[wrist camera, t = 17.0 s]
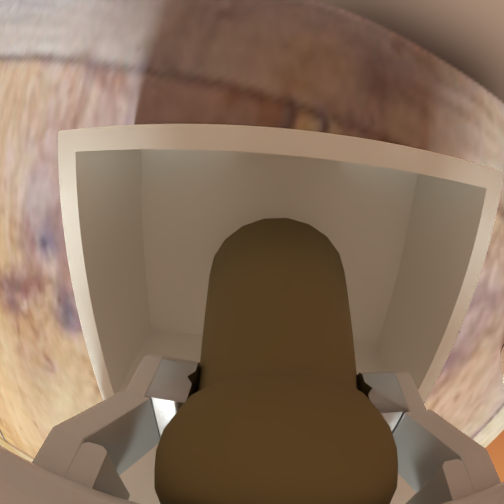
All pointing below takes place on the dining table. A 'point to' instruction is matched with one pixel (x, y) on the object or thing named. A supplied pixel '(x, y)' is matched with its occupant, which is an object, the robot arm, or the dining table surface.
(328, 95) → the dining table surface
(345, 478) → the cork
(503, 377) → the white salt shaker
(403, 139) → the dining table surface
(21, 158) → the dining table surface
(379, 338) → the base
